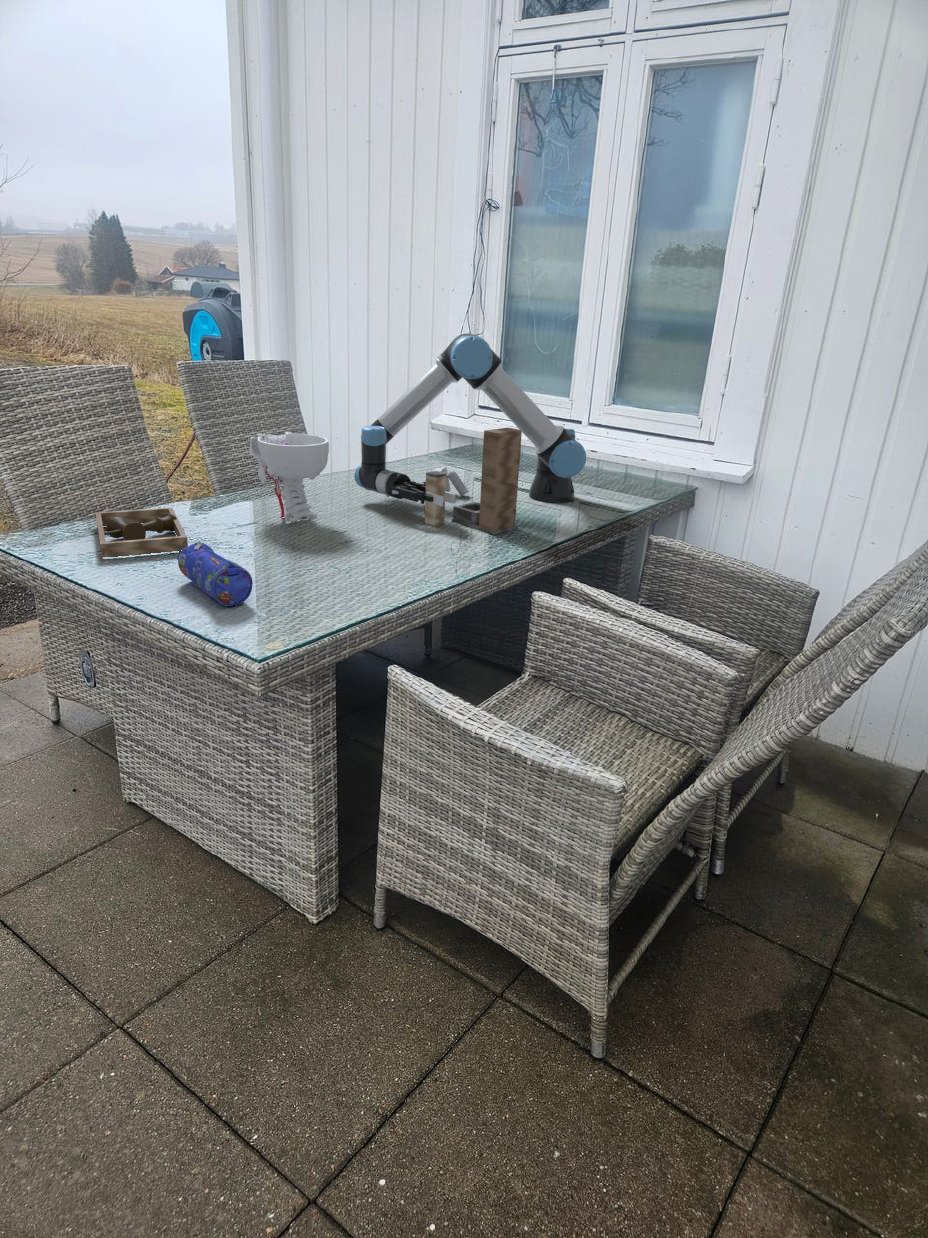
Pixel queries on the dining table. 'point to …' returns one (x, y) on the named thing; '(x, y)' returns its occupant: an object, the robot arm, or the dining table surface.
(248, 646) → the dining table surface
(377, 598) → the dining table surface
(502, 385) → the robot arm
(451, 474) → the wall hook
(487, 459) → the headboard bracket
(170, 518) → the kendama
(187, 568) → the pencil case
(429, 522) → the beige wooden tall block
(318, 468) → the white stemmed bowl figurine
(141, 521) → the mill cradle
